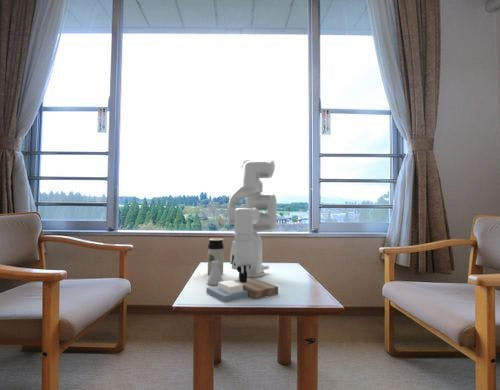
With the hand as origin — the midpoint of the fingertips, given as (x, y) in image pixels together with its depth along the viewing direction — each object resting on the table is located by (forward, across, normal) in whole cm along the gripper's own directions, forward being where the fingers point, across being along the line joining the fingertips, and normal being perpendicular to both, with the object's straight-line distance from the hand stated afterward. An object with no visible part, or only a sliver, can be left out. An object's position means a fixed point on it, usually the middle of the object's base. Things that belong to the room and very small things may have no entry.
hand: (243, 281), depth 128 cm
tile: (+2, +6, 0) cm, 7 cm away
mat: (+4, +7, -1) cm, 8 cm away
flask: (+5, +3, -18) cm, 19 cm away
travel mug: (+5, -7, -35) cm, 36 cm away
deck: (+4, -4, +1) cm, 6 cm away
